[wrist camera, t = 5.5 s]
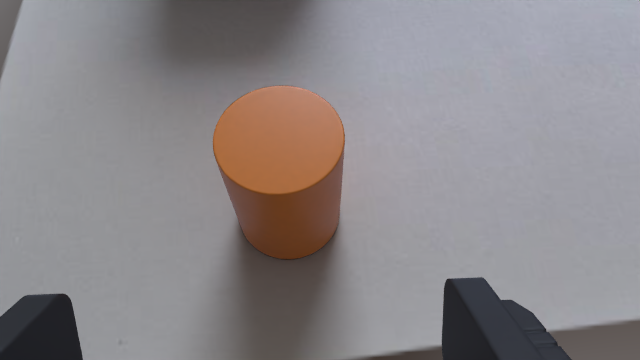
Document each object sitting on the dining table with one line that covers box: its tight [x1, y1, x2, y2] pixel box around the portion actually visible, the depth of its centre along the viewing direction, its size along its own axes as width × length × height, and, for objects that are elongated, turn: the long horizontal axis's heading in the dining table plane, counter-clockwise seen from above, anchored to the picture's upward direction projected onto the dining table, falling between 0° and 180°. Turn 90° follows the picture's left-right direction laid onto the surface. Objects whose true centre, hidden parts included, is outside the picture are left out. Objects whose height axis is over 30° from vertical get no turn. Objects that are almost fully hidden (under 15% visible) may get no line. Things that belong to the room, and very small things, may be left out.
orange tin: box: [213, 86, 345, 259], centre depth 22 cm, size 5×5×7 cm
